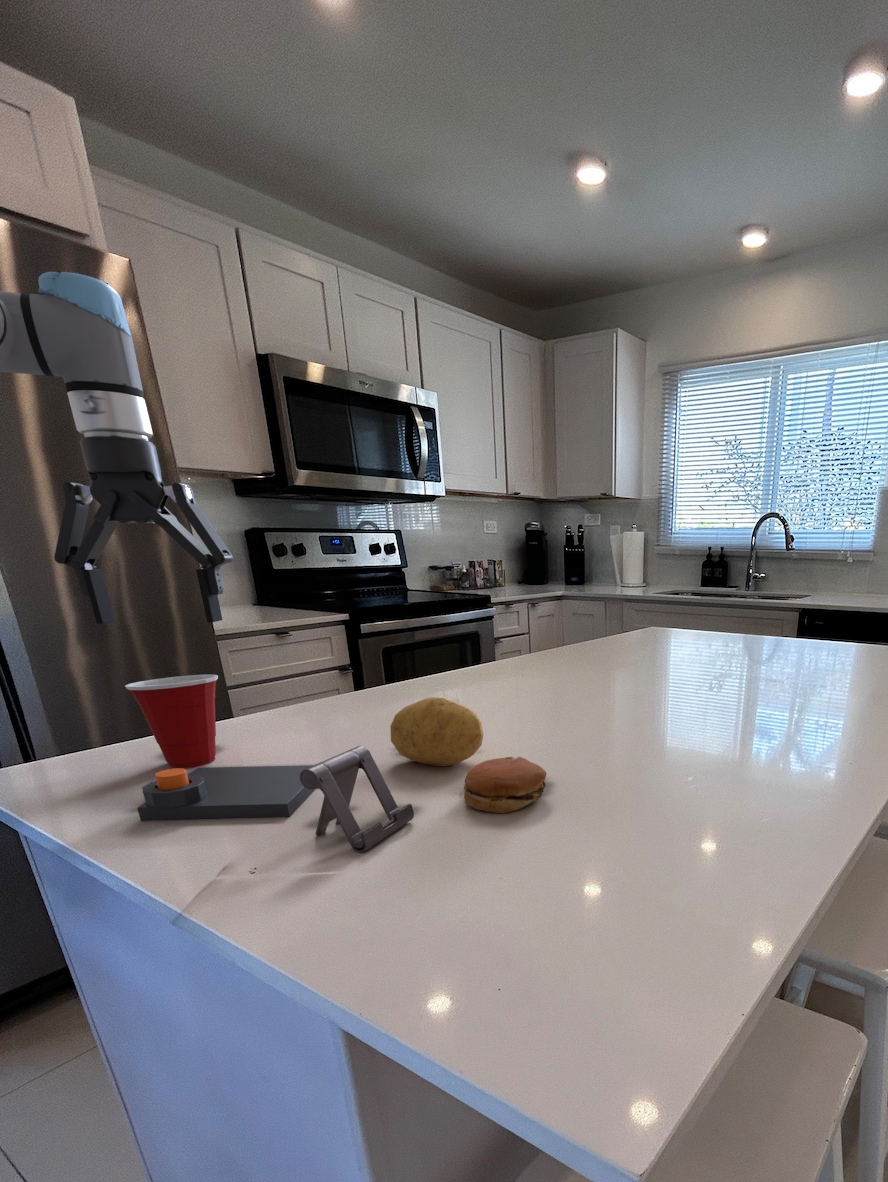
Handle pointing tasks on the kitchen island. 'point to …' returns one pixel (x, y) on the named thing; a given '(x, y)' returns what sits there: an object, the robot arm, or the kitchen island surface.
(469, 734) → the potato
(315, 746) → the kitchen island surface
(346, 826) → the tablet stand
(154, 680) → the plastic cup
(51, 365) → the robot arm
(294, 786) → the scale
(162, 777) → the button
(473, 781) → the burger
